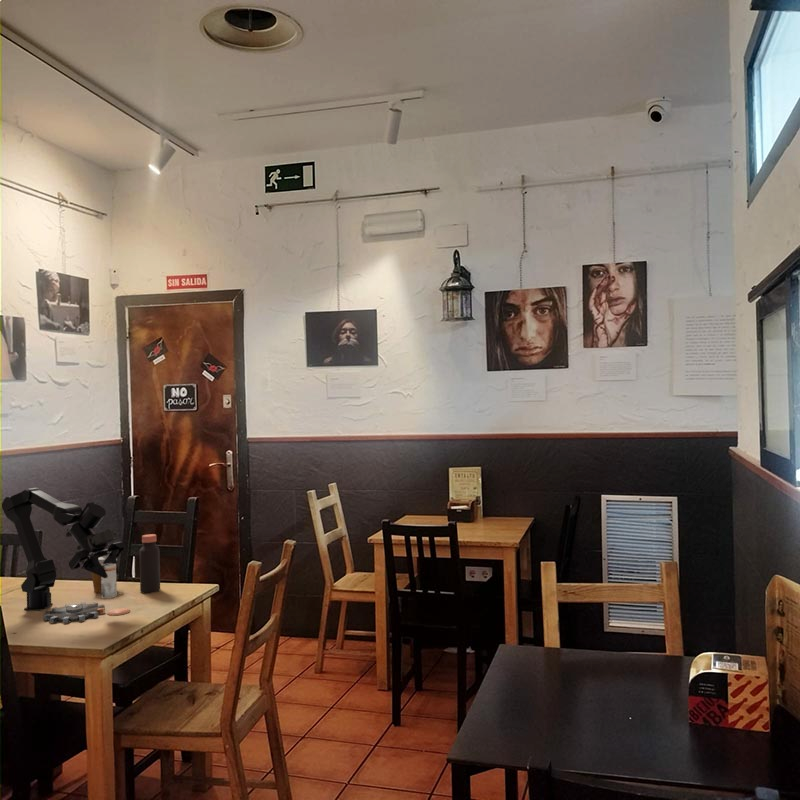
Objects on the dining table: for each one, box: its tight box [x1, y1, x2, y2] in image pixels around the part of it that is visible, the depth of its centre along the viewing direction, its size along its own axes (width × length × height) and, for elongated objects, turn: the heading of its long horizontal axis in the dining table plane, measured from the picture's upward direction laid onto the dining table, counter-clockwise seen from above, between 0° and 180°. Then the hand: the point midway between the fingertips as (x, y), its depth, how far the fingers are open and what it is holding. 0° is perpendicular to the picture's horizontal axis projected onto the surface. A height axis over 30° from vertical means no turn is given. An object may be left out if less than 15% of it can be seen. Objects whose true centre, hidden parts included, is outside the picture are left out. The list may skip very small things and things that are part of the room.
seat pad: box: [106, 607, 131, 616], centre depth 233 cm, size 7×7×1 cm
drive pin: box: [101, 563, 118, 599], centre depth 228 cm, size 4×4×10 cm
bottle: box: [139, 533, 161, 594], centre depth 259 cm, size 7×7×20 cm
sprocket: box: [43, 601, 106, 624], centre depth 231 cm, size 18×18×3 cm
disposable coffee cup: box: [90, 557, 118, 593], centre depth 262 cm, size 10×10×12 cm
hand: (112, 575), depth 227 cm, fingers closed on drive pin, 4 cm apart
